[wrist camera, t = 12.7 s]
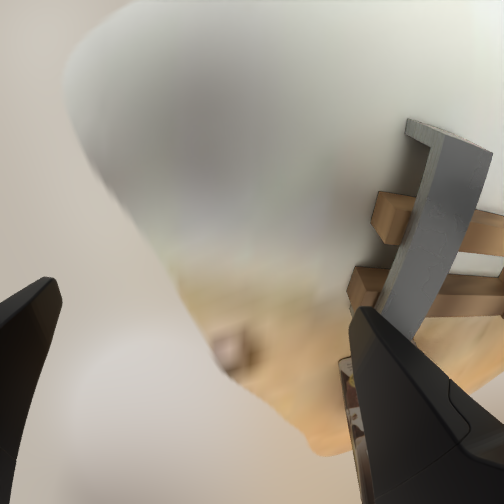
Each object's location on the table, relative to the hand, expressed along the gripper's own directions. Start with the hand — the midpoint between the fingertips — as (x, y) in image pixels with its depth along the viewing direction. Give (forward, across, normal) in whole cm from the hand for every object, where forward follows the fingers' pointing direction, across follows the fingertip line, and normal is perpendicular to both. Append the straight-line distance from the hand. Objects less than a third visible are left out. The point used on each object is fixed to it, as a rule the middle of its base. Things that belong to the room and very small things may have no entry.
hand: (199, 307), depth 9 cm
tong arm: (+7, -15, -1) cm, 17 cm away
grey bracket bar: (+8, -10, 0) cm, 12 cm away
